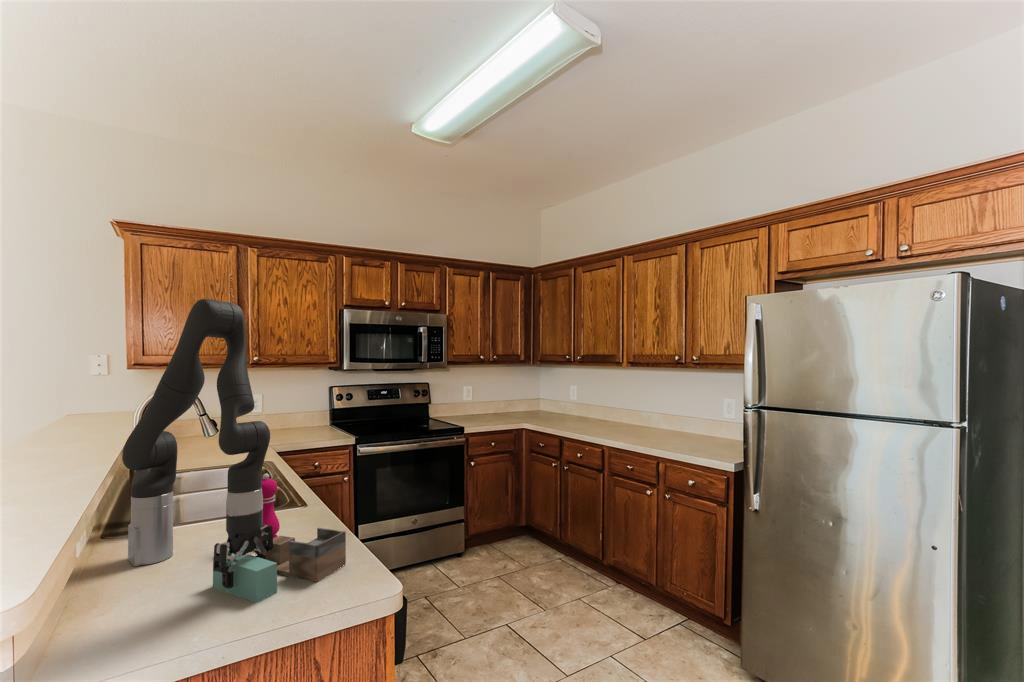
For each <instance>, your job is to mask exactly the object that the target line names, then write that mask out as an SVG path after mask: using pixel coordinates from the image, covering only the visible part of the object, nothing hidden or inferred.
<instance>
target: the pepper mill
mask: <svg viewBox="0 0 1024 682" xmlns="http://www.w3.org/2000/svg"><path fill="white" fill-rule="evenodd" d="M277 491H278V484H277V481H275V480H274V479H273V478H270V474H268V472H267V473H264V474H263V475H262V494H263V525H269V526H272V532H273V539H274V538H276V537H278V536H279V535H277V534H278V532H279V530H280V529H281V527H280V521H279V519H278V516H277V513H276V511H275V506H274V505H275V501H276V495H275V494H276V493H277ZM259 541H260V542H261V537H260V539H259Z"/></svg>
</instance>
